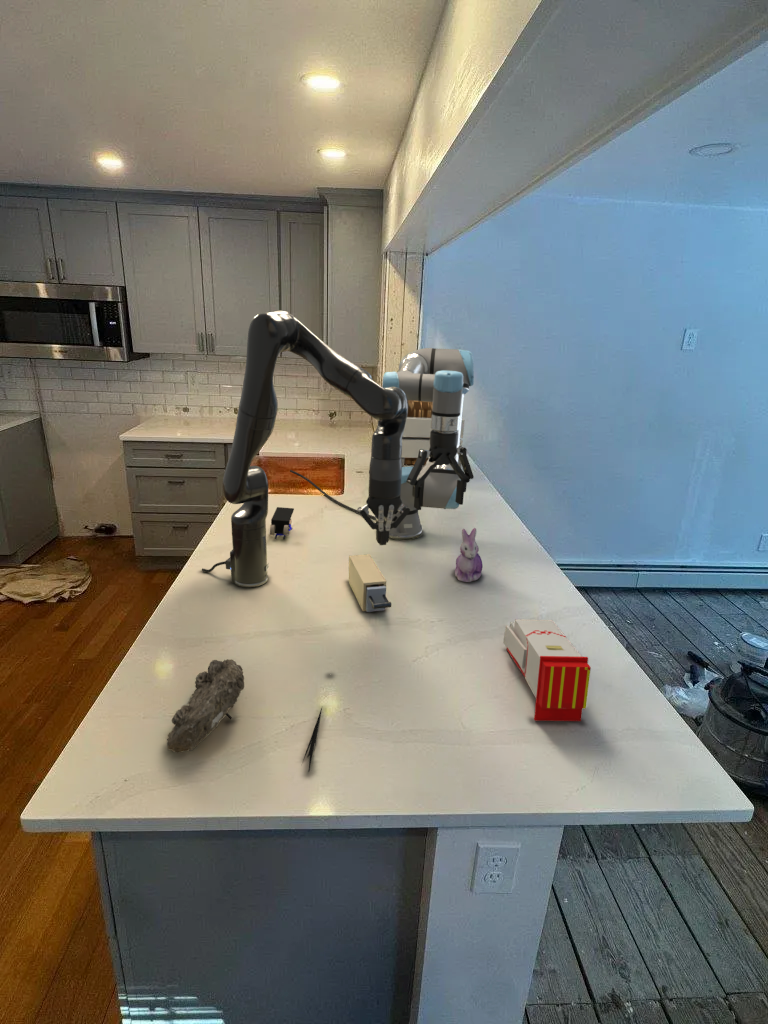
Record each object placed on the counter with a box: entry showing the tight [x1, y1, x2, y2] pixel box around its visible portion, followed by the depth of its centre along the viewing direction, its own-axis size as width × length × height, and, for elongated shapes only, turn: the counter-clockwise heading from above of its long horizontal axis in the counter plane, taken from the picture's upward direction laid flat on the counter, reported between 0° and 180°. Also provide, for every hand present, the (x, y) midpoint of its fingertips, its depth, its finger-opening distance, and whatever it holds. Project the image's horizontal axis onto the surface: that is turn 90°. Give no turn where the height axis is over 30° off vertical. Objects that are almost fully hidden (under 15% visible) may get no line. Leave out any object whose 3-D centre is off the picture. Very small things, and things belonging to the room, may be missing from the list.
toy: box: [503, 618, 592, 722], centre depth 122 cm, size 12×13×30 cm
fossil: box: [166, 658, 245, 754], centre depth 106 cm, size 22×10×15 cm
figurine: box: [454, 527, 484, 583], centre depth 168 cm, size 9×10×15 cm
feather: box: [301, 673, 332, 771], centre depth 108 cm, size 2×28×2 cm
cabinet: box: [347, 553, 387, 612], centre depth 155 cm, size 17×6×8 cm, turn 16°
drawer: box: [365, 584, 392, 613], centre depth 150 cm, size 22×5×6 cm, turn 16°
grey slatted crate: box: [402, 400, 465, 469], centre depth 268 cm, size 34×33×41 cm
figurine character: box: [269, 506, 295, 540], centre depth 194 cm, size 7×8×15 cm
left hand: (382, 543), depth 137 cm, fingers closed
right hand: (438, 505), depth 158 cm, fingers open, 13 cm apart
